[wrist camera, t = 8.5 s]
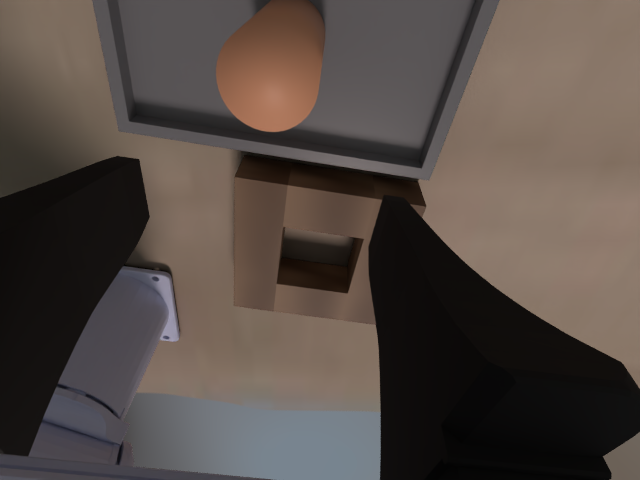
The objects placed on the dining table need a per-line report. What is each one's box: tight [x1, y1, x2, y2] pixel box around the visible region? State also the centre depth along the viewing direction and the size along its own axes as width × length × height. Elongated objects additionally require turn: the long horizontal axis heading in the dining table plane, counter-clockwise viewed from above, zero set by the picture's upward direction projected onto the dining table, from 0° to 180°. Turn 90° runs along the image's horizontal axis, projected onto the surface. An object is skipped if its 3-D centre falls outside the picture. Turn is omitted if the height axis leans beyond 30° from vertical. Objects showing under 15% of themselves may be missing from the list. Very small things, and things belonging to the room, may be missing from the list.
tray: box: [92, 0, 499, 180], centre depth 16 cm, size 16×11×2 cm
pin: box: [216, 0, 325, 132], centre depth 13 cm, size 3×3×7 cm
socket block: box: [234, 155, 426, 325], centre depth 23 cm, size 10×10×2 cm
